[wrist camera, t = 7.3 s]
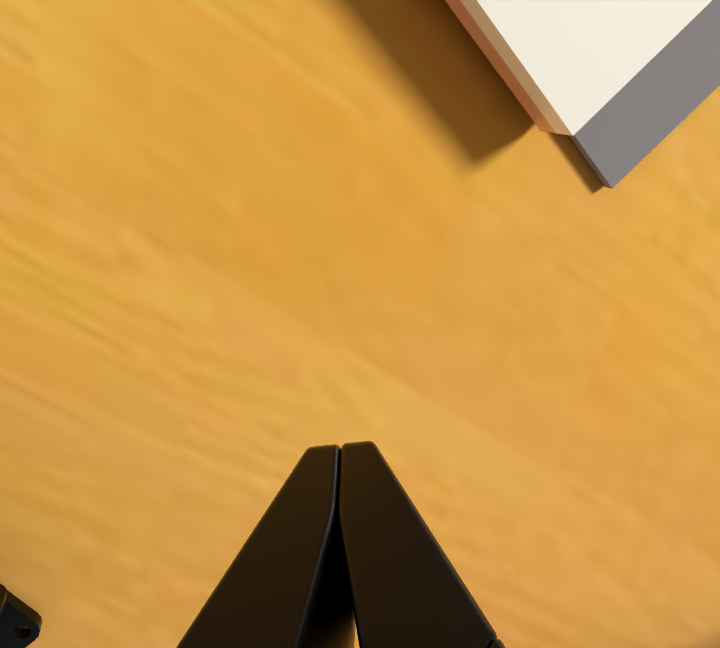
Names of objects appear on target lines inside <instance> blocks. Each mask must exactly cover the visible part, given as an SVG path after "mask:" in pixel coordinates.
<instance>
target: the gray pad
mask: <svg viewBox="0 0 720 648" xmlns="http://www.w3.org/2000/svg"><path fill="white" fill-rule="evenodd" d="M719 85H720V0H712V1H711V2H710V3H709V4H708V5H707V6H706V7H705V8H704V9H703V10H702V11H701V12H700V13H699V14H698V15H697V16H696V17H695V18H694V19H693V20H692V21H690V22H689V23H688V24H687V25H686V26H685V27H684V28H683V29H682V30H681V31H680V32H679V33H678V34H677V35H676V36H675V37H674V38H673V39H672V40H671V41H670V42H669V43H668V44H667V45H666V46H665V47H664V48H663V49H662V50H661V51H660V52H659V53H658V54H657V55H656V56H655V57H654V58H652V59H651V60H650V61H649V62H648V63H647V64H646V65H645V66H644V67H643V68H642V69H641V70H640V71H639V72H638V73H637V74H636V75H635V76H634V77H633V78H632V79H631V80H630V81H629V82H628V83H627V84H626V85H625V86H624V87H623V88H622V89H621V90H620V91H619V92H618V93H617V94H615V95H614V96H613V97H612V98H611V99H610V100H609V101H608V102H607V103H606V104H605V105H604V106H603V107H602V108H601V109H600V110H599V111H598V112H597V113H596V114H595V115H594V116H593V117H592V118H591V119H590V120H589V121H588V122H587V123H586V124H585V125H584V126H583V127H582V128H581V129H580V130H579V131H577V132H576V133H575V134H574V135H573V136H571V135H568V136H569V137H570V139H571V140H572V141H573V143H574V144H575V146H576V147H577V148H578V150H579V151H580V153H581V154H582V155H583V157H584V158H585V160H586V161H587V162H588V164H589V165H590V167H591V168H592V169H593V171H594V172H595V174H596V175H597V176H598V178H599V179H600V181H601V182H602V183H603V185H604V186H605V187H608V188H613V187H614V186H615V185H616V184H617V183H618V182H620V181H621V180H622V179H623V178H624V177H625V176H626V175H627V174H628V173H629V172H630V171H631V170H632V169H633V168H634V167H635V166H636V165H637V164H638V163H639V162H640V161H641V160H642V159H643V158H644V157H646V156H647V155H648V154H649V153H650V152H651V151H652V150H653V149H654V148H655V147H656V146H657V145H658V144H659V143H660V142H661V141H662V140H663V139H664V138H665V137H666V136H667V135H668V134H669V133H670V132H671V131H673V130H674V129H675V128H676V127H677V126H678V125H679V124H680V123H681V122H682V121H683V120H684V119H685V118H686V117H687V116H688V115H689V114H690V113H691V112H692V111H693V110H694V109H695V108H696V107H697V106H699V105H700V104H701V103H702V102H703V101H704V100H705V99H706V98H707V97H708V96H709V95H710V94H711V93H712V92H713V91H714V90H715V89H716V88H717V87H718V86H719Z"/></svg>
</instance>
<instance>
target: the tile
mask: <svg viewBox="0 0 720 648" xmlns="http://www.w3.org/2000/svg"><path fill="white" fill-rule="evenodd" d="M445 1H446V3H447V4H448V5H449V7H450V8H451V10H452V11H453V12H454V14H455V15H456V16H457V18H458V19H459V20H460V22H461V23H462V25H463V26H464V27H465V29H466V30H467V31H468V33H469V34H470V35H471V37H472V38H473V40H474V41H475V42H476V44H477V45H478V46H479V48H480V49H481V50H482V52H483V53H484V55H485V56H486V57H487V59H488V60H489V61H490V63H491V64H492V65H493V67H494V68H495V70H496V71H497V72H498V74H499V75H500V76H501V78H502V79H503V80H504V82H505V83H506V85H507V86H508V87H509V89H510V90H511V91H512V93H513V94H514V95H515V97H516V98H517V100H518V101H519V102H520V104H521V105H522V106H523V108H524V109H525V110H526V112H527V113H528V115H529V116H530V117H531V119H532V120H533V121H534V123H535V124H536V125H537V127H538V128H539V130H540V131H544V132H551V133H558V134H564V135H571V136H573V135H574V134H575V133H576V132H577V131H579V130H580V129H581V128H582V127H583V126H584V125H585V124H586V123H587V122H588V121H589V120H590V119H591V118H592V117H593V116H594V115H595V114H596V113H597V112H598V111H599V110H600V109H601V108H602V107H603V106H604V105H605V104H606V103H607V102H608V101H609V100H610V99H611V98H612V97H613V96H614V95H615V94H617V93H618V92H619V91H620V90H621V89H622V88H623V87H624V86H625V85H626V84H627V83H628V82H629V81H630V80H631V79H632V78H633V77H634V76H635V75H636V74H637V73H638V72H639V71H640V70H641V69H642V68H643V67H644V66H645V65H646V64H647V63H648V62H649V61H650V60H651V59H652V58H654V57H655V56H656V55H657V54H658V53H659V52H660V51H661V50H662V49H663V48H664V47H665V46H666V45H667V44H668V43H669V42H670V41H671V40H672V39H673V38H674V37H675V36H676V35H677V34H678V33H679V32H680V31H681V30H682V29H683V28H684V27H685V26H686V25H687V24H688V23H689V22H690V21H692V20H693V19H694V18H695V17H696V16H697V15H698V14H699V13H700V12H701V11H702V10H703V9H704V8H705V7H706V6H707V5H708V4H709V3H710V2H711V1H712V0H445Z"/></svg>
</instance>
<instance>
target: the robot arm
mask: <svg viewBox="0 0 720 648" xmlns="http://www.w3.org/2000/svg"><path fill="white" fill-rule="evenodd" d="M355 623H356V628H357V634H358V640H359V646H360V648H505V646H504V644H503V643H502V641H501V640H499V639H497V635H496V633H495V631H494V629H493V628H492V626H491V625H490V623H489V622H488V620H487V619H486V617H485V615H484V614H483V612H482V611H481V609H480V608H479V606H478V604H477V603H476V601H475V600H474V598H473V597H472V595H471V593H470V592H469V590H468V589H467V587H466V586H465V584H464V583H463V581H462V579H461V578H460V576H459V575H458V573H457V572H456V570H455V568H454V567H453V565H452V564H451V562H450V561H449V559H448V557H447V556H446V554H445V553H444V551H443V550H442V548H441V546H440V545H439V543H438V542H437V540H436V539H435V537H434V536H433V534H432V532H431V531H430V529H429V528H428V526H427V525H426V523H425V521H424V520H423V518H422V517H421V515H420V514H419V512H418V510H417V509H416V507H415V506H414V504H413V503H412V501H411V499H410V498H409V496H408V495H407V493H406V492H405V490H404V489H403V487H402V485H401V484H400V482H399V481H398V479H397V478H396V476H395V474H394V473H393V471H392V470H391V468H390V467H389V465H388V463H387V462H386V460H385V459H384V457H383V456H382V454H381V453H380V451H379V449H378V448H377V446H376V445H375V444H374V443H373V442H371V441H364V442H354V443H346V444H344V445H343V446H342V448H340V447H339V446H338V445H324V446H314V447H310V448H308V449H307V450H306V451H305V453H304V454H303V456H302V457H301V459H300V460H299V462H298V463H297V465H296V466H295V468H294V470H293V471H292V473H291V474H290V476H289V477H288V479H287V480H286V482H285V483H284V485H283V486H282V488H281V489H280V491H279V492H278V494H277V495H276V497H275V498H274V500H273V501H272V503H271V504H270V506H269V508H268V509H267V511H266V512H265V514H264V515H263V517H262V518H261V520H260V521H259V523H258V524H257V526H256V527H255V529H254V530H253V532H252V533H251V535H250V536H249V538H248V539H247V541H246V542H245V544H244V546H243V547H242V549H241V550H240V552H239V553H238V555H237V556H236V558H235V559H234V561H233V562H232V564H231V565H230V567H229V568H228V570H227V571H226V573H225V574H224V576H223V577H222V579H221V581H220V582H219V584H218V585H217V587H216V588H215V590H214V591H213V593H212V594H211V596H210V597H209V599H208V600H207V602H206V603H205V605H204V606H203V608H202V609H201V611H200V612H199V614H198V615H197V617H196V619H195V620H194V622H193V623H192V625H191V626H190V628H189V629H188V631H187V632H186V634H185V635H184V637H183V638H182V640H181V641H180V643H179V644H178V646H177V647H176V648H354V641H355ZM20 625H25V626H28V627H29V628H28V629H21V628H18V626H20ZM41 625H42V619H41V616H40V615H39V614H38V613H37V612H36V611H34V610H33V609H32V608H30V607H29V606H28V605H26V604H25V603H24V602H22V601H21V600H20V599H18V598H17V597H16V596H14V595H13V594H12V593H10V592H9V591H8V590H7V589H6V588H5V587H4V586H3V585H2V584H0V648H25V647H27V646H28V645H29V644H31V643H32V642H33V641H35V639H36V638H37V637H38V636H39V632H40V629H41Z"/></svg>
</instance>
